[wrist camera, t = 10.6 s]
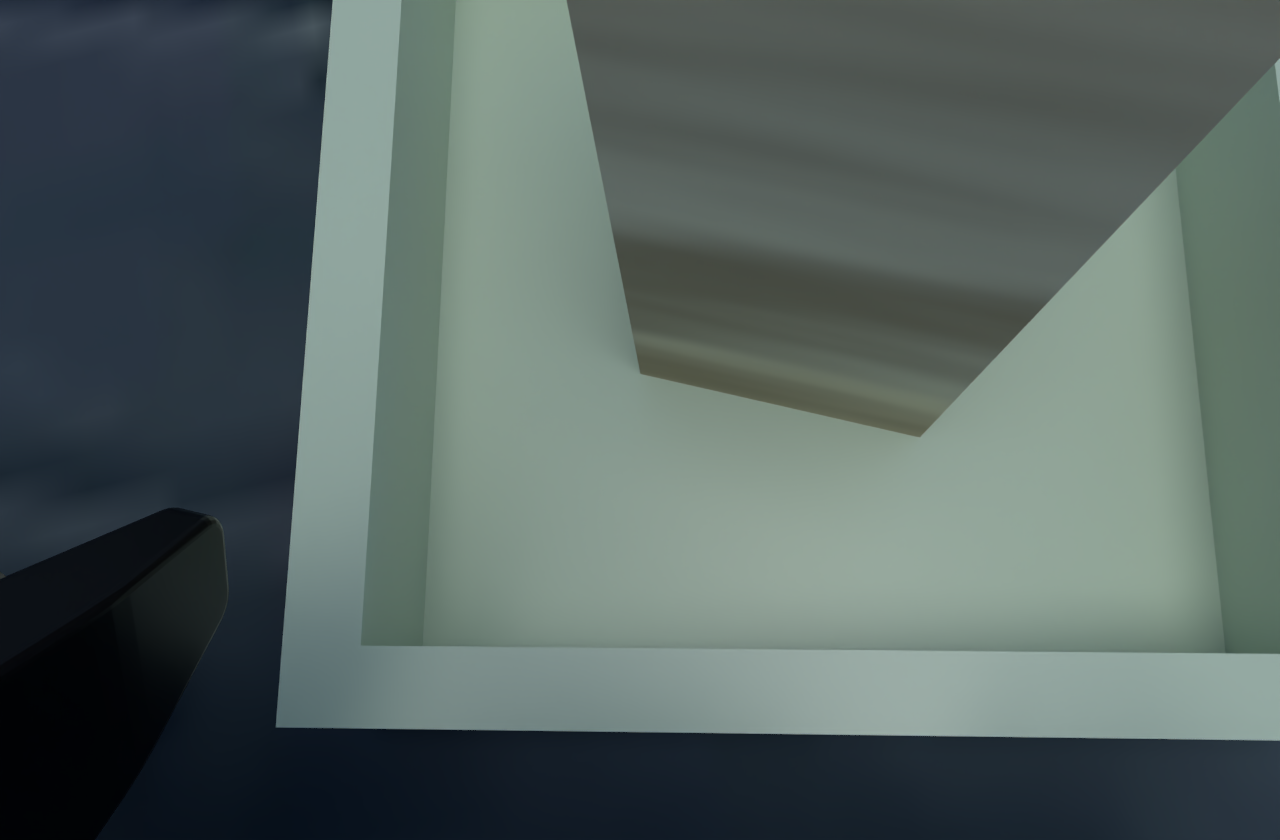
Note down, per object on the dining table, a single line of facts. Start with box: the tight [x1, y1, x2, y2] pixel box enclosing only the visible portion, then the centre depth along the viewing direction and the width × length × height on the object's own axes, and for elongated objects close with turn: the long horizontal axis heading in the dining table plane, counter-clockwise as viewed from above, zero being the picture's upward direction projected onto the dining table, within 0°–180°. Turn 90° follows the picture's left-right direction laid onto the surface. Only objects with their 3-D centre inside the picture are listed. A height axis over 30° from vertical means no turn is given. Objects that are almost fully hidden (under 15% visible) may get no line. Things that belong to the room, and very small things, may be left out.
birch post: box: [567, 0, 1280, 437], centre depth 12 cm, size 4×4×13 cm
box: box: [276, 0, 1280, 740], centre depth 17 cm, size 14×14×4 cm
